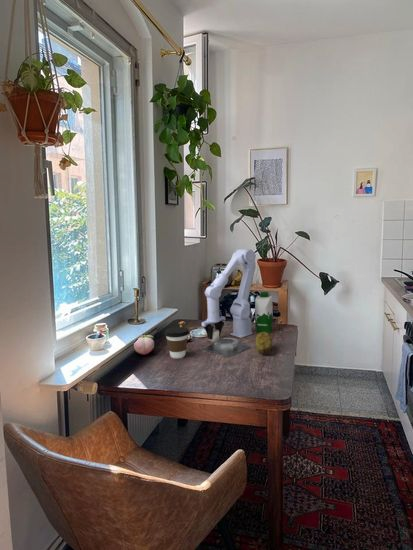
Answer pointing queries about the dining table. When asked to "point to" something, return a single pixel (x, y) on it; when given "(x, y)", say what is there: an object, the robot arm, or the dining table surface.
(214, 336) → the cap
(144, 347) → the decorative fruit
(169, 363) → the dining table surface
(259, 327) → the milk carton
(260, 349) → the yellow oval piece
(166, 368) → the dining table surface
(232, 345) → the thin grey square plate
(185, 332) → the coffee cup
